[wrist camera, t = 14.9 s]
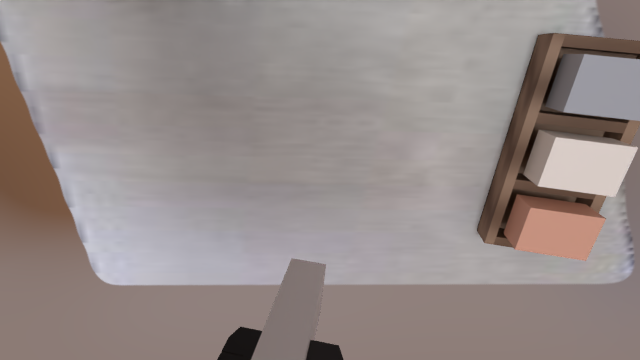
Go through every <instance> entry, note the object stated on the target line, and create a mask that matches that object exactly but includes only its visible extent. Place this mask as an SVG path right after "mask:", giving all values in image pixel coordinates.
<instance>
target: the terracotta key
mask: <svg viewBox="0 0 640 360" xmlns="http://www.w3.org/2000/svg"><path fill="white" fill-rule="evenodd" d="M605 220H606V218H604V217H603V216H602V215H600V214H599V213H597V212H596V211H594V210H593V209H592V208H590V207H589V206H587V205H586V204H582V203H575V202H568V201H561V200H554V199H547V198H540V197H533V196H526V195H519V194H517V196H516V199H515V202H514V204H513V207H512V210H511V213H510V216H509V219H508V222H507V224H506V227H505V230H504V235H505V236H506V238H507V239H508V240H509V242H510V243H511V244H512V246H513V247H514V249H515V250H522V251H528V252H534V253H540V254H547V255H553V256H559V257H565V258H572V259H578V260H584V261H586V260H587V258H588V255H589V253H590V251H591V249H592V247H593V245H594V243H595V241H596V239H597V237H598V234H599V232H600V230H601V228H602V226H603V224H604V222H605Z"/></svg>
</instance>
